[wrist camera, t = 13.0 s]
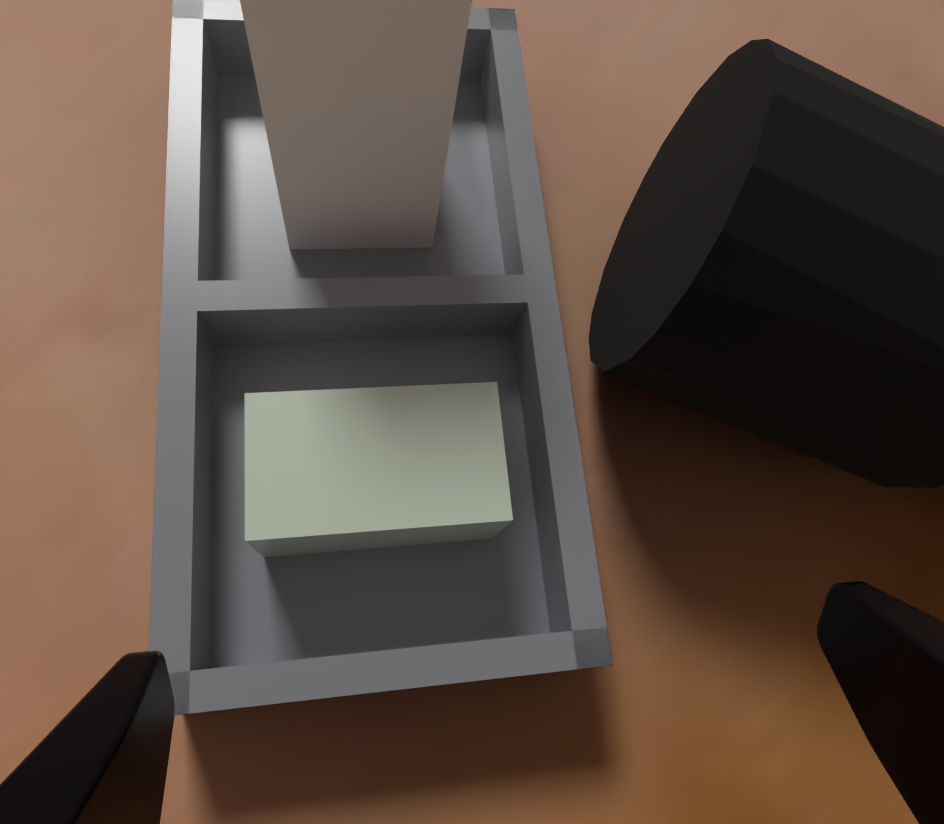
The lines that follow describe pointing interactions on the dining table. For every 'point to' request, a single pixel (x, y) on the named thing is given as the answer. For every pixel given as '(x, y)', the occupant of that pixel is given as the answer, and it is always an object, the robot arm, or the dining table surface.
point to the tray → (361, 413)
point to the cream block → (358, 114)
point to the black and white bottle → (790, 268)
